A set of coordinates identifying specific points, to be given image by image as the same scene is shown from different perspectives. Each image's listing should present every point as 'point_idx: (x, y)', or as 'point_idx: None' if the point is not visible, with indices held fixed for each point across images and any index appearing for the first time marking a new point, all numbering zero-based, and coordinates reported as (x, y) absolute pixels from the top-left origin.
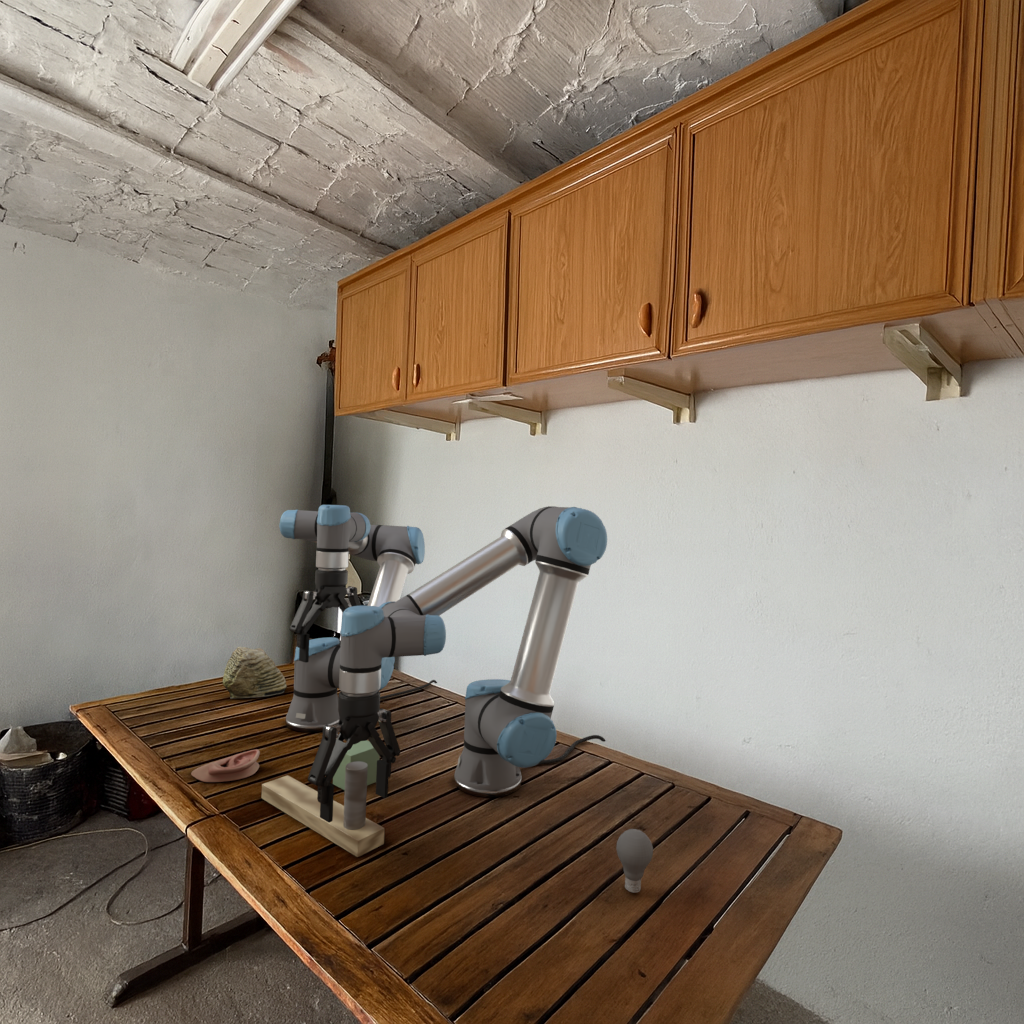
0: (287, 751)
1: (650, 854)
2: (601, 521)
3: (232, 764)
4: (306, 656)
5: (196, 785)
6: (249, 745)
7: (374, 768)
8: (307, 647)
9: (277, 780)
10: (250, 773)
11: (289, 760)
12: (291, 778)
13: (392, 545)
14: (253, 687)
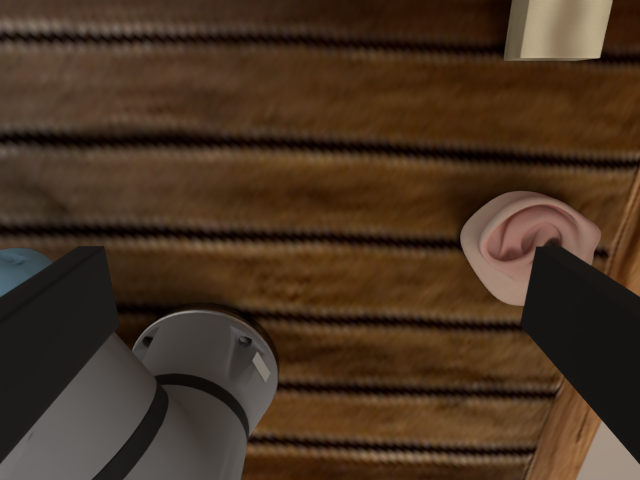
0: (360, 259)
1: None
2: None
3: (541, 237)
4: (584, 265)
5: (606, 234)
6: (399, 344)
7: None
8: (635, 305)
9: (560, 46)
10: (509, 196)
11: (390, 209)
12: (529, 27)
13: None
14: None
